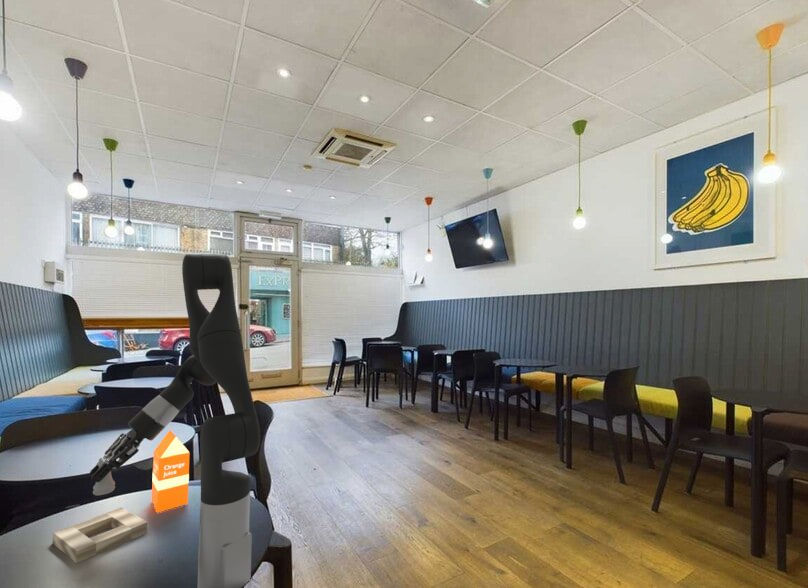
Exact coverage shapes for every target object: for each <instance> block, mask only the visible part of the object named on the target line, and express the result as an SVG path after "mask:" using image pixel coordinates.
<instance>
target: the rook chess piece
mask: <svg viewBox="0 0 808 588" xmlns="http://www.w3.org/2000/svg"><path fill="white" fill-rule="evenodd" d="M109 458H110V456H108V458H107V459H106V457H104V456H103V457H100V458H99V459H98V462H97V463H96V465H98V466H99V468H100V467H101V466H102V465H103V464H104V463H106V461H107V460H108V459H109ZM115 485H116V482H115V480H114V479H113V476H112V470H111V471H110V472H109V473H108V474H107V475H106V476H105V477H104V478H103V479H102V480H101V481H100V482H96V481H95V484H94V485H93V487H92V489H93V491H92V494H93V495H94V496H102V495H103V496H105V495H107V494H110V493H112V492H113V491H114V490H116V489H115V488H116V486H115Z"/></svg>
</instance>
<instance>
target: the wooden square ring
mask: <svg viewBox="0 0 808 588" xmlns="http://www.w3.org/2000/svg"><path fill="white" fill-rule="evenodd" d="M110 528H112V529H110ZM108 529H110V530H108ZM105 530H108V531H105ZM102 531H105V532H103V533H100V532H102ZM98 533H100V534H98ZM147 533H148V522H147V520H145V519H143V518H141V517H139V516H137V515H135V513H132V512H130V511H128V510H126V509H124V508H123V507H119V508H116V509H114V510H111V511H108V512H106V513H103V514H100V515H97V516H94V517H92V518H89V519H87V520H83V521H81V522H78V523H75V524H73V525H70V526H67V527H64V528H62V529H60V530H59V529H58V530H56V531H53V532H52V544H53V545H54V546H55V547H56V548H57V549H59V550H60V551H61V552H62V553H63V554H65V555H66V556H67V557H68V558H69V559H70V560H72V561H73V562H74V563H75V564H77V563H80V562H83V561H85V560H87V559H89V558H91V557H94V556H96V555H99V554H101V553H103V552H107V550H110V549H112V548H115V547H117V546H119V545H122V544H124V543H126V542H128V541H130V540H131V541H132V540H133V539H135V538H138V537H140V536H141V535H145V534H147ZM96 534H97V535H96ZM92 535H96V536H92ZM89 536H92V537H89Z"/></svg>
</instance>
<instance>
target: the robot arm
mask: <svg viewBox="0 0 808 588" xmlns="http://www.w3.org/2000/svg"><path fill="white" fill-rule="evenodd" d="M181 267H182V268H181V269H182V270H181V271H182V272H181V274H182V283H183V284H182V285H183V291H184V299H185V307H186V312H187V318H188V325H189V326H188V327H189V350H190V353H191V355H190V356H189V357H188V358H186V360H185V361H184V362H183V363H182V365H181V366H180V368H179V370H178V372H177V373H176V375H175V376H174V378H173V379H172V381H171V382H170V383H169V384H168V385H167V386H166V387H165V388H164V389H163V390H162V391H161V392H160V393H159V395H156V397H154V398H153V399H151V400H150V401H149V402H148V403H147V404H146V405H145V406H144V407H143V408H142V409H141V410H140V411H139V412H138V413H137V414H135V415H134V417H132V418H131V419H130V420H129V421H128V423H127V424H128V427H130V428H131V430H129V431H128V432H127V433H123V432H122V433H121V434H120V435H119V436H118V437H117V438H116V440H114V442H113V443H112V444H111V445H110V446H109V447H108V449H107V450H106V451H105V452H104V455H103V457H106V459H107V458H108V456H110V458H109V459H108V460H107V461H106V463H104V464H103V465H102V466H101V467H100V468H99V466H98V465H97V464H96V465H95V466H94V467H93V468H92V469H91V470H90V471H89V475H91V480H93V481H94V482H95V483H96V482H100V481H101V480H102V479H103V478H104V477H105V476H106V475H107V474H108V473H109V472H110V471H111V472H112V470H115V469H119V468H121V467H122V466H123V465H124V464H125V463H127V462H128V461H129V460H130V459H131V458H132V457H134V456H135V455H137V453H138V452H139V447H140V445H141V443H142V442H143V441H144V439H147V440H148V441H153V440H154V439H155V438H156V437H157V436H158V435H159V434H160V433H161V432H162V431H163V430H164V429H166V427H167V426H168V425H169V424H170V423H171V422H172V421H173V420H174V419H175V417H177V415H178V414H179V412H180V411H182V409H183V408H184V407H186V406H187V405H188V403H189V402H190V401H192V399H193V397H194V395H195V393H194V390H193V389H192V388H191V384H192V381H193V380H195V381H196V382H198V383H199V384H201V385H203V386H207V387H208V386H213V385H215V384H216V383H217V384H218V385H219V386H220V387H221V388H222V390H223V391H224V393H226V395H227V396H228V398H229V401H230V402H231V405H232V408H233V411H234V413H228V414H223V415H217V416H211V417H208V418H206V419H205V420H204V421H203V423H202V425H201V428H200V437H199V443H200V444H199V446H200V449H199V450H200V504H199V505H200V507H199V508H200V509H199V529H198V531H199V532H198V533H199V534H198V557H197V560H198V561H197V586H196V587H197V588H243V587H244V586H246V585H247V584H249V583H251V579H250V578H252V577H251V575H252V573H251V572H252V541H253V540H252V539H253V537H252V536H253V534H252V533H251V532H250V505H251V479H250V476H249V475H247V474H246V473H244V472H240V471H235V470H233V471H232V470H226V469H223V463H227V462H232V461H236V460H241V459H245V458H249V457H251V456H254V455H256V454H257V453H258V451H259V449H260V445H261V430H260V423H259V419H258V415H257V410H256V407H255V404H254V399H253V395H252V392H251V388H250V383H249V378H248V377H249V376H248V373H247V367H246V360H245V351H244V350H245V349H244V345H243V338H242V337H243V336H242V333H241V328H240V324H239V319H238V318H239V317H238V313H237V312H238V311H237V307H236V300H235V288H234V278H233V276H234V275H233V268H232V263H231V261H230V258H229V256H228V255H226V254H224V253H217V252H216V253H213V252H212V253H210V252H209V253H207V252H206V253H205V252H204V253H199V252H198V253H197V252H194V253H187V254H185V255H184V257H183V258H182V266H181ZM202 290H204V291H205V290H206V291H207V290H218V292H219V294H218V298H217V300H216V302H215V304H214V306H213V307H212V310H211V311H209V310H208V309H207V308H206V307H205V305H204V303H203V302H202V300H201V299H200V296H199V291H202ZM248 581H249V582H248ZM247 582H248V583H247Z"/></svg>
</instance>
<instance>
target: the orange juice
mask: <svg viewBox="0 0 808 588" xmlns="http://www.w3.org/2000/svg"><path fill="white" fill-rule="evenodd" d="M190 453H191V452H190V451H189V450H188V449H187V447H186V446H185V445H184V444H183V443H182V442H181V441H180V440H179V438H178V437H177V436H176V435H175V433H173V432H172V431H171V430H170V429H169V430H168V432H166V434H165V436H164V437H163V438H162V440H161V441H160V442H159V444H158V445H157V446H156V448H155V449H154V450H153V459H152V462H153V464H152V476H151V478H152V483H151V485H152V486H151V487H152V488H151V503H152V502H153V504H154V506H153V508H154V507H155V508H154V510H155V509H156V510H155V513H156V512H157V513H156V514H159V513H158V512H160V513H162V512H161V511H164V510H167V509H171V508H174V507H178V506H181V505H184V504H188V505H189V502H188V501H189V500H188V499H189V483H190V481H189V480H190V455H191V454H190ZM153 504H152V505H153ZM181 507H182V506H181ZM178 508H179V507H178ZM174 509H175V508H174ZM171 510H172V509H171ZM167 511H168V510H167ZM164 512H165V511H164Z"/></svg>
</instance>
